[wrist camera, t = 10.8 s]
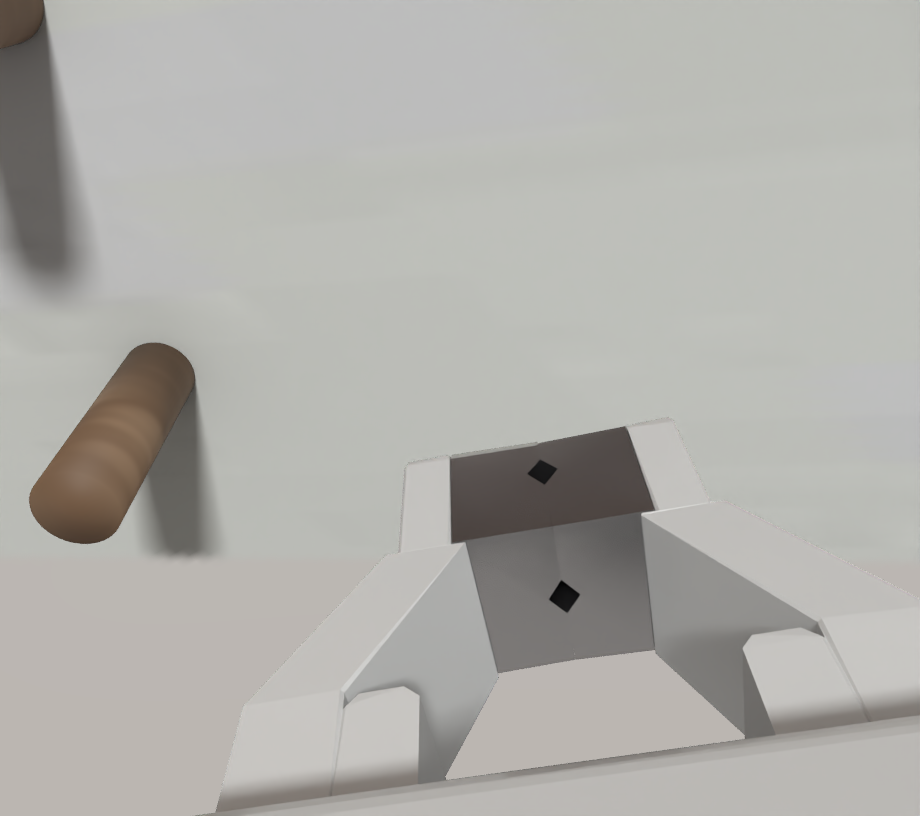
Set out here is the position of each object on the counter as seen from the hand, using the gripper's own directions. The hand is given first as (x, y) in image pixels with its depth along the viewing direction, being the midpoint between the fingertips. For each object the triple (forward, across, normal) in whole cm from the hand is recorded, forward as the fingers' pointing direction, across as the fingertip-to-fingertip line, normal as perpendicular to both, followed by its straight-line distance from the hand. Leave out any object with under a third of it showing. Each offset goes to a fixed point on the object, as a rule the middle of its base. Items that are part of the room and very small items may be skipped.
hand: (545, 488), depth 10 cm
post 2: (+19, -13, -6) cm, 24 cm away
